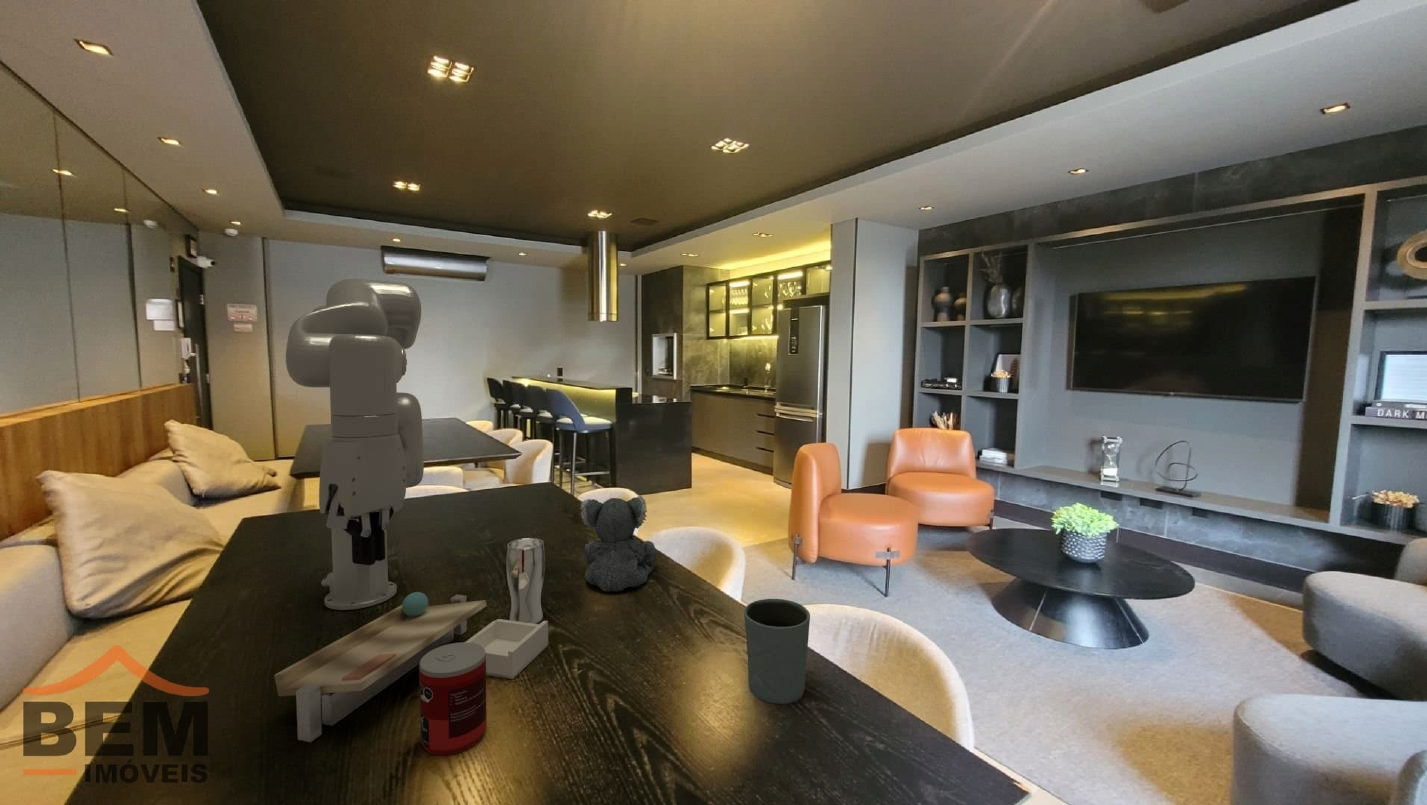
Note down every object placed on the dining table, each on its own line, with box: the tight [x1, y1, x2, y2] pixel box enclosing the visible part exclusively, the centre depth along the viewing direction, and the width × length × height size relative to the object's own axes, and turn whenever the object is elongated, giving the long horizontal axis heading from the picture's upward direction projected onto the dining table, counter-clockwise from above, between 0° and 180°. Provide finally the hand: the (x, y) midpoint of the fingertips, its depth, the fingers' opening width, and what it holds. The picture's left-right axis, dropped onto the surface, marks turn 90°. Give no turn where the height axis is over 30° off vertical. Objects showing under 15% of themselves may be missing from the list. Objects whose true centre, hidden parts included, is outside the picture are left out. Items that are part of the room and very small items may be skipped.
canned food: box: [418, 641, 488, 756], centre depth 72 cm, size 8×8×11 cm
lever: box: [273, 599, 487, 698], centre depth 85 cm, size 26×14×4 cm, turn 167°
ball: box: [401, 591, 429, 617], centre depth 95 cm, size 4×4×4 cm
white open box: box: [465, 618, 549, 680], centre depth 92 cm, size 11×11×4 cm
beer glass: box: [505, 537, 546, 624], centre depth 105 cm, size 7×7×15 cm
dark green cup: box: [743, 598, 811, 705], centre depth 84 cm, size 10×10×12 cm
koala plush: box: [579, 495, 658, 593], centre depth 125 cm, size 17×18×20 cm
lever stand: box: [295, 594, 468, 743], centre depth 86 cm, size 31×2×7 cm, turn 167°
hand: (369, 560), depth 75 cm, fingers closed
